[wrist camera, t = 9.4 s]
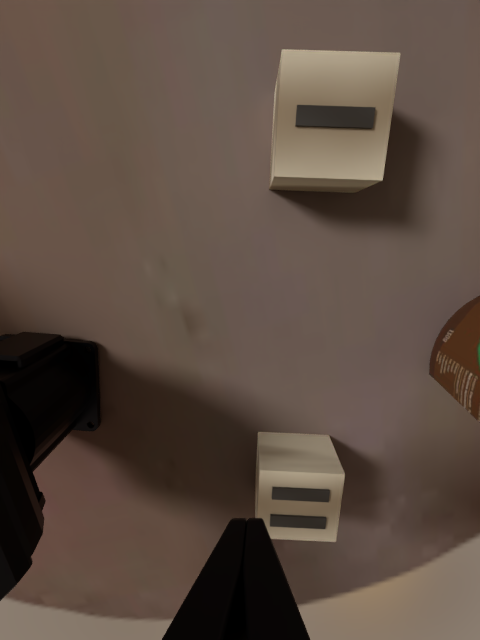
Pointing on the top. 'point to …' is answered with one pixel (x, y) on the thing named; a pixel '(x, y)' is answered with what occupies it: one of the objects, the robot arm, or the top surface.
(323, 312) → the top surface
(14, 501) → the robot arm
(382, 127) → the numbered tile one
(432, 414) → the top surface
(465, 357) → the food container
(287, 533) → the numbered tile two
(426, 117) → the top surface
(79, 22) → the top surface
